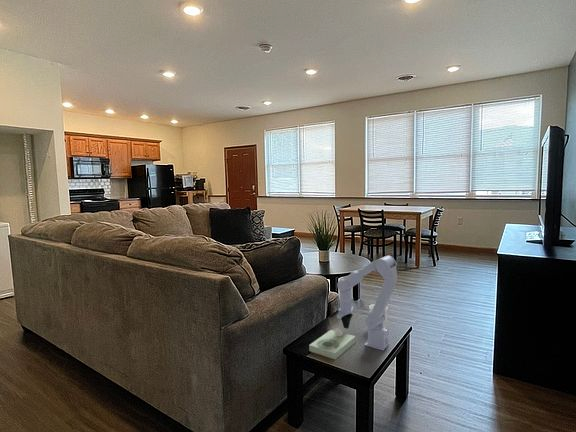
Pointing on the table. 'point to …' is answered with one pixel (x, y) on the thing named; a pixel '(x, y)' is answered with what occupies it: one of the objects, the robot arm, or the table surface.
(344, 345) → the putting board
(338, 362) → the table surface
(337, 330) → the ball
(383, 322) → the candle holder
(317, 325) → the table surface
